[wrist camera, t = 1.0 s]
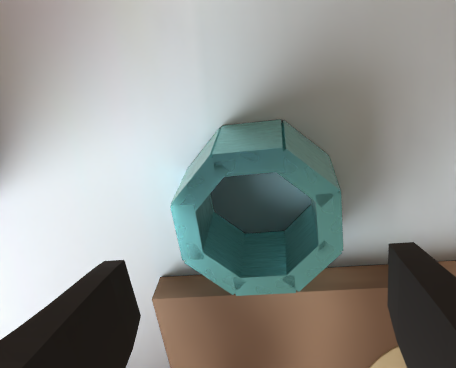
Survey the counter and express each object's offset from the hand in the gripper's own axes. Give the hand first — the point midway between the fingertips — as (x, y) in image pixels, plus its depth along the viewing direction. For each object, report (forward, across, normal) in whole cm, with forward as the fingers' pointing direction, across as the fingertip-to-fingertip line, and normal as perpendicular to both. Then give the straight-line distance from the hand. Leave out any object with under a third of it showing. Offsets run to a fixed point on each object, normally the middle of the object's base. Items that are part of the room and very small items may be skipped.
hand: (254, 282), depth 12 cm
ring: (+6, 0, 0) cm, 6 cm away
